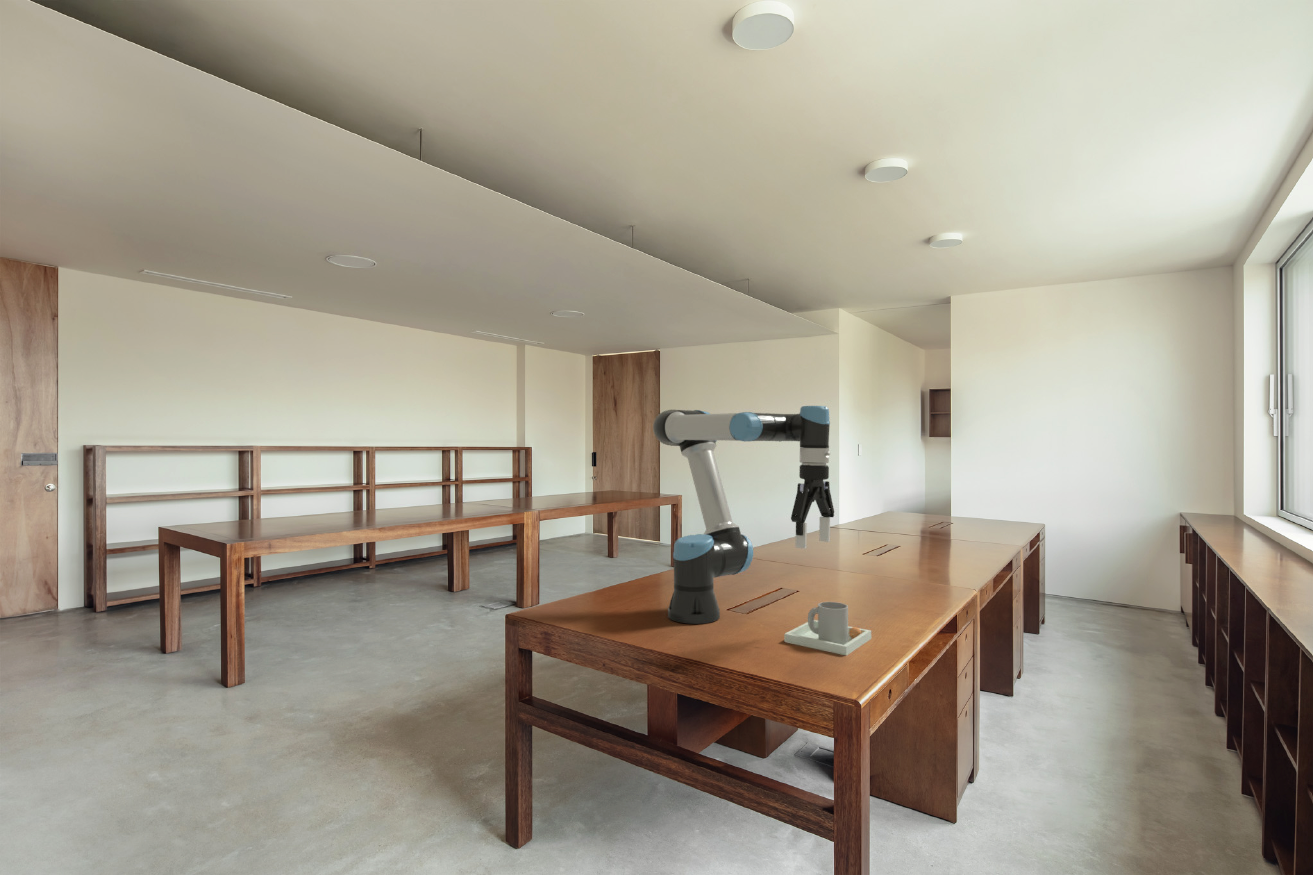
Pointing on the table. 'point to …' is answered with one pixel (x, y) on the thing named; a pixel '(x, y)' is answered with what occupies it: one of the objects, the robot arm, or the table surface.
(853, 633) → the ball
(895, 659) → the table surface
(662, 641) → the table surface
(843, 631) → the cup
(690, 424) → the robot arm
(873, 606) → the table surface
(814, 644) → the tray
